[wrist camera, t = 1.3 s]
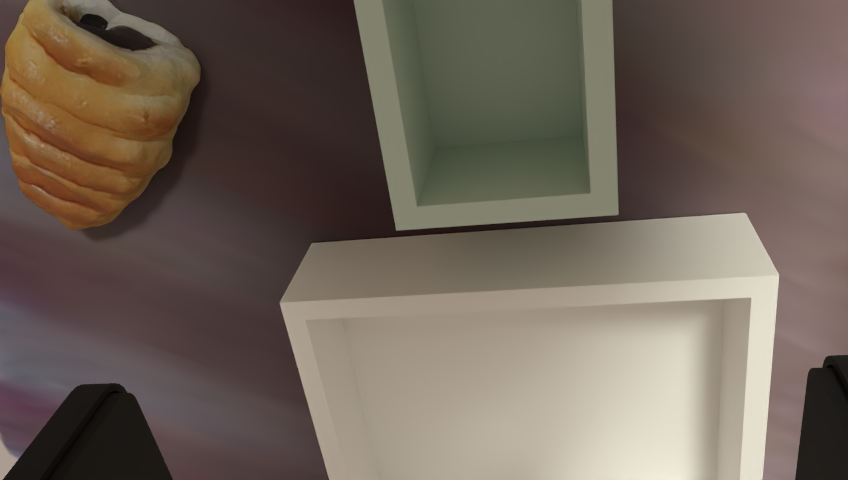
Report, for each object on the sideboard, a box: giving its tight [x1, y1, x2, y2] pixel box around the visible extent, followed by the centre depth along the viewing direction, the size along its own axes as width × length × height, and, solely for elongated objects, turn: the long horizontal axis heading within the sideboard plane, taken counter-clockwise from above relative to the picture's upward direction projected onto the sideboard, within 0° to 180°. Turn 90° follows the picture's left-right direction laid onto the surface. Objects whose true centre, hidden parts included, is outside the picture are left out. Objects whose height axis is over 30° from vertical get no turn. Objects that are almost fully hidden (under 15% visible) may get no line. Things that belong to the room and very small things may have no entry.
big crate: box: [280, 213, 779, 480], centre depth 31 cm, size 15×17×4 cm
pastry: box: [0, 0, 201, 230], centre depth 28 cm, size 9×7×4 cm
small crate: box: [354, 0, 619, 231], centre depth 24 cm, size 9×7×6 cm
